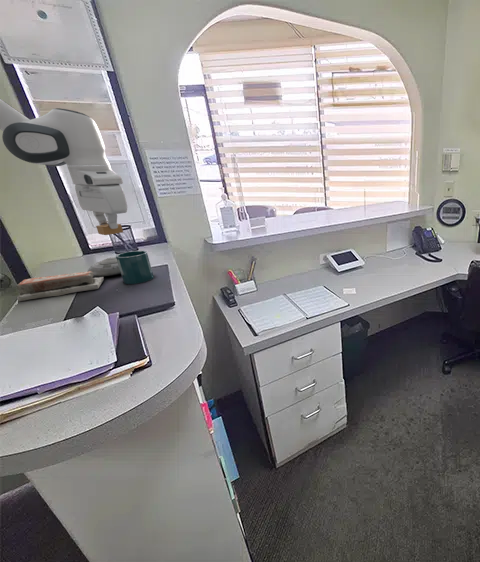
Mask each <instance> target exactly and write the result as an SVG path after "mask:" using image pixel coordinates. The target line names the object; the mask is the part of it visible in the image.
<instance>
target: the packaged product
mask: <svg viewBox="0 0 480 562" xmlns="http://www.w3.org/2000/svg"><path fill="white" fill-rule="evenodd" d="M104 280H105V279H104V276H98V277H94V276H93V272H91V271H89V272H87V271H81V272H74V273H73V272H72V273H65V274H57V275H56V274H55V275H48V276H41V277H32V278H27V279H26V278H25V279H23V280H22V281H20V282H19V283H18V284H17V285H16V290H17V291H18V293H19V294H18V295H17V297H16V299H17V301H18V302H22V301H23V302H24V301H29V300H35V299H42V298H50V297H58V296H63V295H67V294H73V293H80V292H85V291H93V290H99V288H100V286H101V285H102V283H103V282H104Z"/></svg>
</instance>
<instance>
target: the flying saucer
mask: <svg viewBox="0 0 480 562" xmlns="http://www.w3.org/2000/svg"><path fill="white" fill-rule="evenodd" d="M89 271H91V272H93V277H112V276H117V275H121V272H120V268H119V265H118V262H117V259H116V256H111V257H107V258H105V259H102V260H100V261H98V262H96V263H94V264H93V265H91V266H90V267H89V268H88V269H87V271H86V272H89Z"/></svg>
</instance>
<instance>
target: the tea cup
mask: <svg viewBox="0 0 480 562" xmlns="http://www.w3.org/2000/svg"><path fill="white" fill-rule="evenodd" d="M115 257H116V259H117V262H118V265H119V268H120V272H121V274H120V275H121V278H122V281H123V283H124V284H126V285H136V284H141V283H146V282H148V281H151V280H153V279H154V278H155V276H154V272H153V269H152V265H151V261H150V258H149V255H148V251H147V250H132V251H126V252H121V253H118V254H116V255H115Z"/></svg>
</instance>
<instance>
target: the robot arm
mask: <svg viewBox="0 0 480 562" xmlns="http://www.w3.org/2000/svg"><path fill="white" fill-rule="evenodd" d="M0 131H2V137H1V138H2V142H3V145H4V146H5V149H7V150H8V152H9V153H10V154H12V155H13V156H14V157H16V158H17V159H19V160H22V161H24V162H27V163H28V164H34V165H40V166H42V165H43V166H48V167H62V166H65V165H66V166H67V170H68V172H69V175H70V178H71V181H72V184H73V185H74V189H75V194H76V197H77V202H78V204H79V206H80V208H81V210H83V211H89V212H92V213H93V216H94V217H95V219H96V220H97V222H98V225H105V224H107V225H108V227H109V228H110V229H116V228H118V225H117V224H118V215H119V214H126V213H127V212H128V204H127V199H126V198H127V197H126V194H125V191H124V188H123V187H122V185H123V184H124V182H123V177H122V176H121V175H120V174H119V173H117V172H115V171H114V170H113V169H112V166H111V163H110V161H109V160H108V158H107V156H106V146H105V142H104V139H103V137H102V134H101V132H100V129H99V127H98V125H97V123H96V122H95V120H94V119H93V118H92V117H90V116H89V115H87V114H86V113H83V112H80V111H76V110H72V109H67V108H60V107H59V108H58V107H56V108H52V109H51V110H50V111H49V112H47V113H45V114H43V115H41V116H38V117H35V118H32V119H31V118H29V117H27V115H25V114H23V113H21V112H20V111H18V110H17V109H16V108H15V107H13V106H11V104H9V103H7V102H6V101H5V100H4V99H2V98H0Z"/></svg>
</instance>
